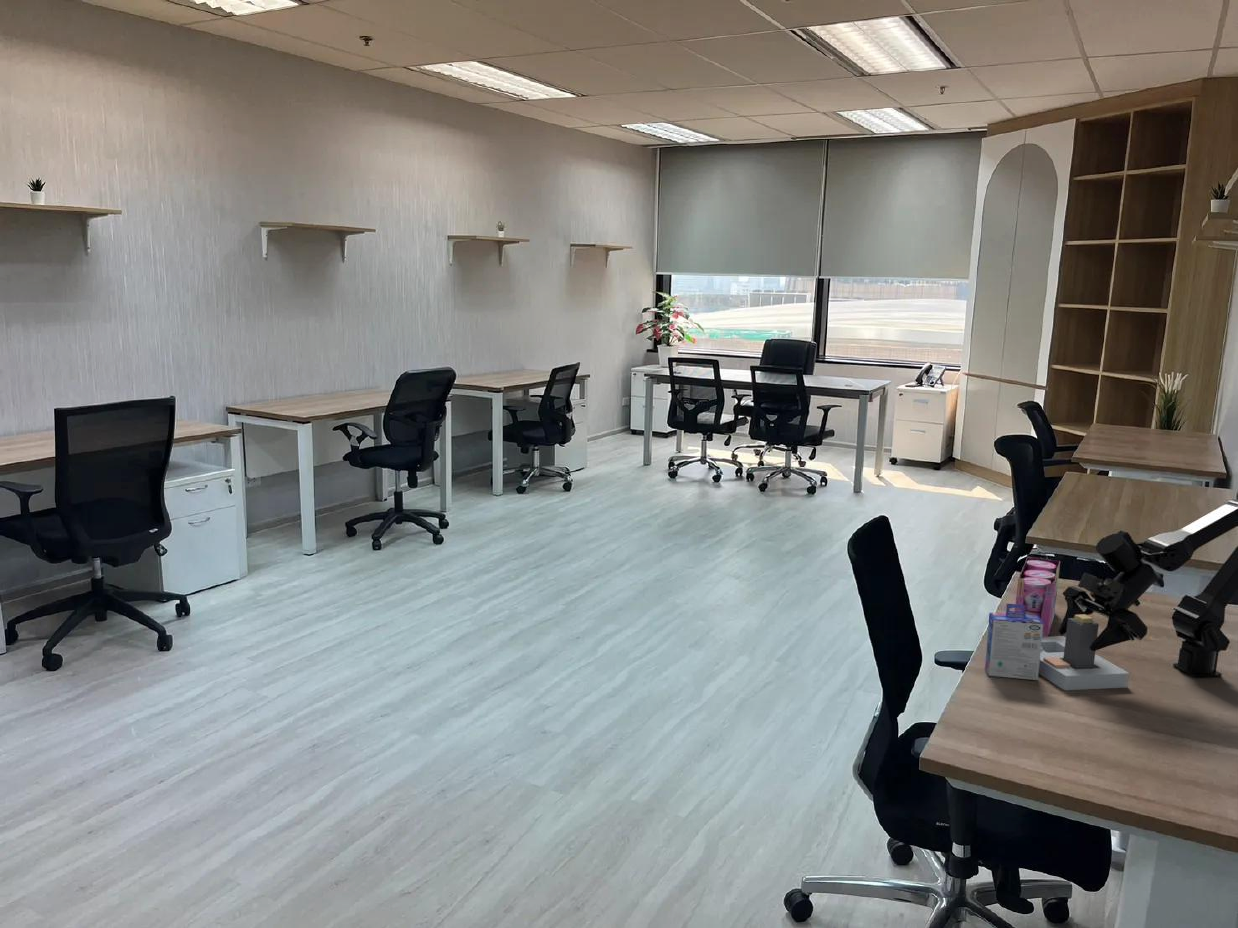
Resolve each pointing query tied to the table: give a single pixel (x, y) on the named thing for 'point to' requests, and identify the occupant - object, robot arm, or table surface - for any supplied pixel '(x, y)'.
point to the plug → (1080, 642)
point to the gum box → (1039, 590)
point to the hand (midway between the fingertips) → (1075, 641)
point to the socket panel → (1077, 679)
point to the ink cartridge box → (1014, 644)
